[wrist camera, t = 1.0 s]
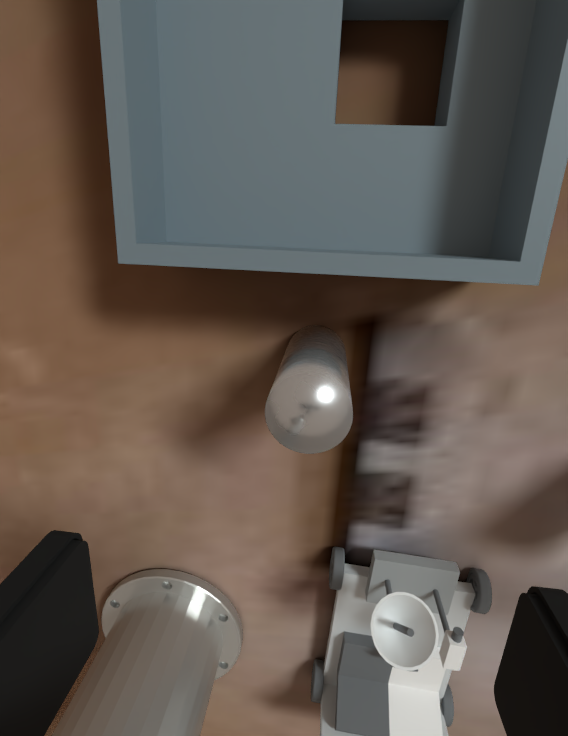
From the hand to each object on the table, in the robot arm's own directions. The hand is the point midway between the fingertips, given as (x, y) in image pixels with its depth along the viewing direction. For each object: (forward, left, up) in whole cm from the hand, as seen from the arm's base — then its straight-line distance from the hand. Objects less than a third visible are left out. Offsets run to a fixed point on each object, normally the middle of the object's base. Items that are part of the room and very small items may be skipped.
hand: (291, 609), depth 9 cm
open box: (+16, 0, -20) cm, 26 cm away
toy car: (-22, -8, -21) cm, 31 cm away
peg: (0, 0, -20) cm, 20 cm away
